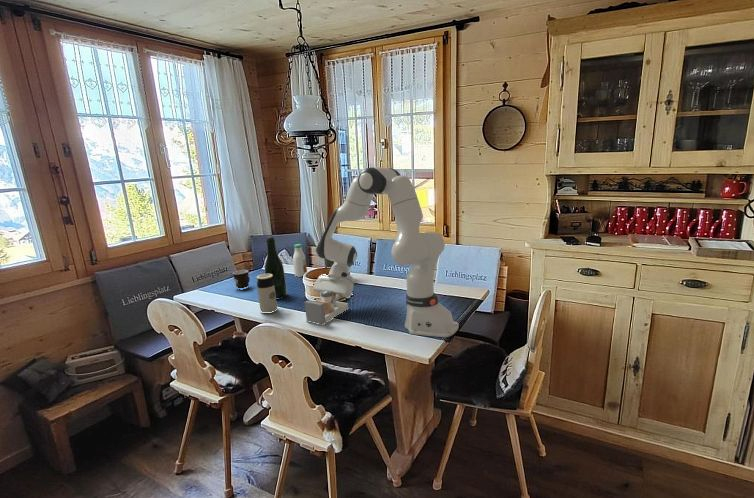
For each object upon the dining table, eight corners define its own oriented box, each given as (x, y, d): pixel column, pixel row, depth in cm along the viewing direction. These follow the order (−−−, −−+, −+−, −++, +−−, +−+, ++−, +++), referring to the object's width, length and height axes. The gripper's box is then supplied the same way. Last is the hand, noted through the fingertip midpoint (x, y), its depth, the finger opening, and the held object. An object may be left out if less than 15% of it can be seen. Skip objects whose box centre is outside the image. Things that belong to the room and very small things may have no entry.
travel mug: (257, 311, 198) (252, 276, 193) (272, 306, 203) (267, 272, 199) (266, 315, 192) (261, 279, 188) (280, 310, 197) (276, 275, 193)
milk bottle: (300, 278, 248) (297, 246, 243) (292, 276, 253) (288, 245, 248) (309, 274, 254) (306, 243, 249) (301, 273, 259) (298, 242, 254)
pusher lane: (348, 309, 193) (347, 290, 191) (322, 325, 177) (320, 304, 175) (333, 306, 198) (331, 288, 196) (306, 322, 182) (304, 302, 179)
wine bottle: (264, 297, 218) (256, 237, 210) (281, 292, 224) (274, 233, 217) (273, 301, 210) (265, 239, 202) (291, 296, 217) (284, 236, 209)
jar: (337, 312, 189) (335, 290, 186) (330, 316, 184) (328, 294, 181) (327, 310, 192) (325, 289, 189) (320, 314, 187) (317, 293, 184)
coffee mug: (234, 287, 237) (232, 271, 235) (249, 285, 241) (247, 268, 238) (236, 293, 227) (234, 276, 224) (252, 290, 230) (250, 273, 228)
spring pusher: (331, 316, 184) (329, 302, 182) (329, 317, 183) (328, 303, 181) (319, 314, 187) (317, 300, 185) (317, 315, 186) (316, 301, 184)
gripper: (317, 270, 194) (305, 296, 189) (352, 274, 184) (341, 302, 178) (323, 276, 199) (312, 302, 193) (358, 281, 189) (347, 308, 183)
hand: (326, 302), depth 186 cm, fingers closed on jar, 5 cm apart
